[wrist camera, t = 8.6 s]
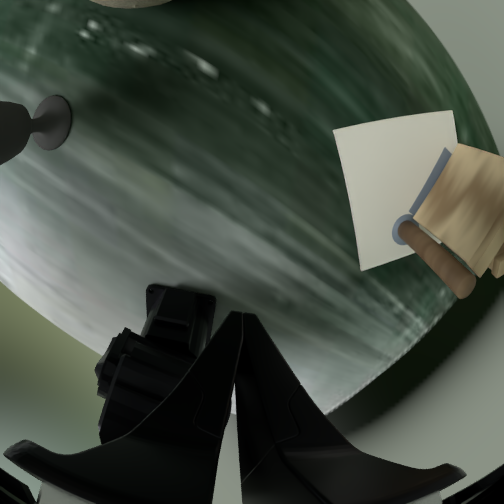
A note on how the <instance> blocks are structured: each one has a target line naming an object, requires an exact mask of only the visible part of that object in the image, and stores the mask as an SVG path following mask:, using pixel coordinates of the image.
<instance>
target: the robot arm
mask: <svg viewBox="0 0 504 504" xmlns="http://www.w3.org/2000/svg"><path fill="white" fill-rule="evenodd" d="M150 289H152V290H153V291H151V290H150ZM209 300H211V301H213V302H209ZM215 306H216V298H215V297H214V296H211V295H205V294H199V293H194V292H189V291H184V290H179V289H173V288H167V287H162V286H157V285H148V287H147V289H146V307H147V320H146V322H145V325H144V327H143V330H142V332H141V335H138V334H136V333H134V332H132V331H131V330H130V329H128V328H126V327H125V328H124V330H123V332H122V334H121V333H119V335H118V336H117V337H113V338H112V341H111V343H110V345H109V347H108V349H107V351H106V352H105V354H104V355H103V357H102V358H101V359H100V360H99V362H98V363H97V365H96V367H95V373H96V376H97V378H98V384H97V385H98V386H99V387H98V392H97V395H98V396H100V397H102V398H105V399H106V400H105V404H104V407H103V410H102V413H101V416H100V420H99V423H98V427H99V431H100V432H99V436H100V440H101V444H102V445H99V446H96V447H94V448H91V449H88V450H85V451H82V452H79V453H75V454H69V455H63V454H57V453H54V452H51V451H49V450H47V449H45V448H44V447H42V446H40V445H38V444H36V443H34V442H32V441H29V440H22V441H20V442H18V443H15V444H14V445H12V446H10V447H9V448H8V449H7V450H6V451H5V452H4V453H3V455H4V456H5V457H6V458H8V459H9V460H10V461H12V462H13V463H14V464H16V465H17V466H18V467H20V468H21V469H23V470H24V471H26V472H28V473H29V474H31V475H32V476H34V477H35V478H37V479H38V480H40V481H42V484H41V487H40V491H39V495H38V499H37V502H36V501H35V499H34V497H33V496H32V493H31V491H30V489H29V487H28V486H27V485H25V484H24V483H22V482H21V481H19V480H18V479H16V478H15V477H13V476H12V475H10V474H9V473H7V472H6V471H4V470H3V469H2V468H0V504H212V500H213V493H214V486H215V480H216V473H217V466H218V459H219V454H220V449H221V444H222V439H223V435H224V430H225V427H226V425H227V423H228V420H229V417H230V413H231V403H232V402H231V397H232V393H233V388H234V383H235V395H236V414H237V432H238V448H239V463H240V476H241V483H242V484H241V491H242V503H243V504H504V464H502V465H501V466H499V467H498V468H497V469H495V470H494V471H492V472H491V473H489V474H488V475H486V476H484V477H483V478H481V479H480V480H478V481H476V482H475V483H473V484H471V485H470V486H468V487H466V488H464V489H462V490H461V491H459V492H457V493H455V494H453V495H451V496H449V497H447V498H446V499H443V500H442V499H441V495H440V492H439V491H441V490H443V489H445V488H447V487H448V486H450V485H452V484H454V483H456V482H457V481H459V480H460V479H462V478H464V477H465V476H466V473H465V472H464V471H463V470H462V469H461V468H459V467H457V466H454V465H451V464H448V463H445V464H442V465H440V466H437V467H435V468H432V469H416V468H411V467H408V466H404V465H401V464H397V463H394V462H390V461H387V460H384V459H381V458H378V457H375V456H372V455H369V454H366V453H364V452H362V451H360V450H358V449H357V448H355V447H354V446H353V445H352V444H351V443H350V442H348V440H347V439H346V438H345V437H344V436H343V435H342V434H341V433H340V432H339V431H338V430H337V429H336V428H335V426H334V425H333V424H332V423H331V422H330V421H329V420H328V419H327V418H326V416H325V415H324V414H323V413H322V412H321V410H320V409H319V408H318V407H317V406H316V404H315V403H314V402H313V400H312V399H311V397H310V396H309V395H308V393H307V392H306V390H305V389H304V387H303V386H302V385H300V384H301V383H300V382H299V380H298V379H297V377H296V376H295V374H294V373H293V371H292V370H291V368H290V367H289V365H288V364H287V362H286V361H285V359H284V358H283V356H282V354H281V353H280V351H279V350H278V348H277V347H276V345H275V344H274V342H273V341H272V339H271V338H270V336H269V334H268V333H267V331H266V330H265V328H264V327H263V325H262V324H261V322H260V320H259V319H258V317H257V316H256V315H255V314H252V313H242V312H239V311H230V313H229V314H228V315H227V317H226V318H225V320H224V321H223V323H222V324H221V325H220V327H219V328H218V330H217V331H216V332H215V334H214V335H213V337H212V338H211V340H210V337H211V331H212V324H213V318H214V312H215ZM205 342H206V343H205Z"/></svg>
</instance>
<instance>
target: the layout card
mask: <svg viewBox="0 0 504 504" xmlns="http://www.w3.org/2000/svg"><path fill="white" fill-rule="evenodd" d="M333 133H334V136H335V140H336V144H337V148H338V152H339V156H340V160H341V164H342V169H343V173H344V177H345V182H346V187H347V191H348V196H349V201H350V206H351V212H352V217H353V223H354V229H355V235H356V241H357V248H358V255H359V262H360V270H361V271H364V270H367V269H370V268H373V267H376V266H379V265H382V264H385V263H387V262H390V261H393V260H396V259H399V258H402V257H404V256H407V255H410V254H413V253H416V252H415V251H414V250H413V249H411V248H410V247H409V246H408V245H407V244H406V243H405V242H404V241H403V240H402V239H401V238H400V237H399V236H398V227H399V225H400V224H401V223H402V222H403V221H406V220H409V221H411V222H413V223H414V224H415V225H416V226H418V227H419V228H420V229H421V230H423V231H424V232H425V233H426V234H428V235H429V236H430V237H431V238H432V239H434V240H435V241H436V242H437V243H438V244H440V243H442V242H441V241H440V240H439V239H438V238H436V237H435V236H434V235H433V234H432V233H430V232H429V231H428V230H426V229H425V228H424V227H423V226H421V225H420V224H419V223H418V222H417V221H415V220H414V219H413V217H414V215H415V214H416V212H417V211H418V209H419V208H420V206H421V205H422V203H423V202H424V200H425V199H426V197H427V196H428V194H429V192H430V191H431V189H432V188H433V186H434V184H435V183H436V181H437V179H438V178H439V176H440V174H441V173H442V171H443V169H444V168H445V166H446V164H447V162H448V161H449V159H450V157H451V155H452V153H453V152H454V150H455V148H456V146H457V144H458V143H457V135H456V128H455V122H454V116H453V111H452V110H448V111H439V112H430V113H422V114H415V115H408V116H401V117H395V118H389V119H384V120H378V121H373V122H368V123H363V124H358V125H353V126H348V127H344V128H339V129H335V130H333Z"/></svg>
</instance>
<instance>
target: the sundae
mask: <svg viewBox="0 0 504 504" xmlns="http://www.w3.org/2000/svg"><path fill="white" fill-rule="evenodd" d="M70 124H71V113H70V109H69V106H68V104H67V102H66V101H65V100H64V99H63V98H62V97H60V96H54V95H53V96H50V97H48V98H46V99H44V100H43V101H42V102H41V103H40V104H39V106H38V108H37V109H36V111H35V113H34V116H33V119H31V117H30V115H29V113H28V110H27V109H26V108H25V107H24V106H23V105H21V104H17V103H12V102H5V101H0V165H1V164H3V163H5V162H7V161H9V160H10V159H12V158H13V157H15V156H16V155H18V154H19V153H20V152H21V151H22V150H23V149H24V148H25V146H26V144H27V142H28V139H29V137H30V134H31V133H32V134H33V137H34V140H35V142H36V143H37V144H38V146H39V147H41V148H42V149H44V150H53V149H56V148H57V147H58V146H60V145H61V144H62V143H63V141H64V140H65V138H66V136H67V134H68V132H69V128H70Z"/></svg>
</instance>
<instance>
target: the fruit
mask: <svg viewBox="0 0 504 504" xmlns="http://www.w3.org/2000/svg"><path fill="white" fill-rule="evenodd" d="M91 1H93V2H96V3H98V4H101V5H105V6H109V7H116V8H144V7H150V6H155V5H161V4H163V3H167V2H169V1H171V0H91Z"/></svg>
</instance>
